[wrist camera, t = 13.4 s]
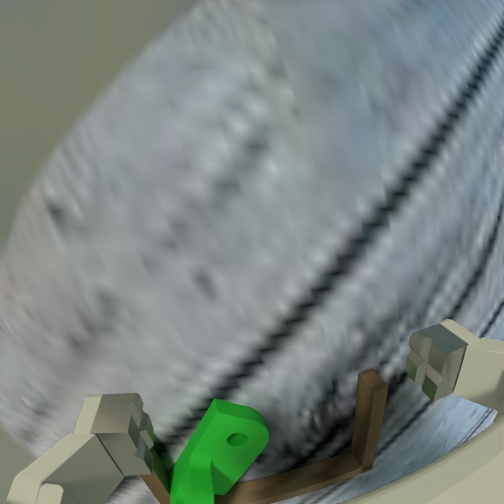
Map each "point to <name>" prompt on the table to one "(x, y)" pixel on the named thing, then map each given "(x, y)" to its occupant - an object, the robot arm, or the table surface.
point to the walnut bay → (311, 476)
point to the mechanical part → (217, 453)
